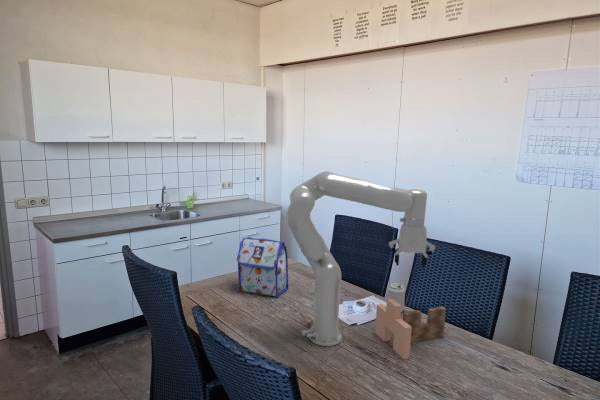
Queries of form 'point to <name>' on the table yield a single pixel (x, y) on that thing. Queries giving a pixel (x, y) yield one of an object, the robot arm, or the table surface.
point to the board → (426, 324)
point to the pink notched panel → (393, 327)
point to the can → (397, 293)
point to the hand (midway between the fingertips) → (409, 265)
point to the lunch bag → (262, 266)
